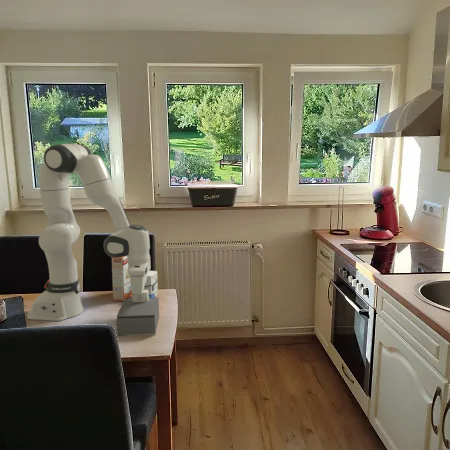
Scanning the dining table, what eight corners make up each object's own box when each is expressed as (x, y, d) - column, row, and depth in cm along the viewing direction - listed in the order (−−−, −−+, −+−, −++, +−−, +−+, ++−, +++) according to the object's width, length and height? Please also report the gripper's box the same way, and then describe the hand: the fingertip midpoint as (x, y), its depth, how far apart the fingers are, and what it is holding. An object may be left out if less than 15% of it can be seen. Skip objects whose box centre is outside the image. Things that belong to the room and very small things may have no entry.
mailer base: (117, 336, 155) (116, 318, 154) (125, 316, 173) (124, 301, 171) (155, 334, 156) (154, 317, 155) (159, 315, 174) (158, 300, 172)
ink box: (151, 300, 191) (151, 276, 189) (141, 299, 192) (140, 275, 190) (158, 294, 199) (157, 270, 197) (148, 293, 200) (147, 270, 198)
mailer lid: (116, 317, 154) (116, 305, 153) (124, 299, 172) (124, 289, 171) (154, 316, 155) (154, 304, 154) (158, 298, 173) (158, 288, 172)
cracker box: (125, 301, 190) (123, 257, 186) (112, 300, 191) (110, 257, 187) (136, 291, 203) (135, 250, 199) (125, 290, 204) (123, 249, 200)
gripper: (135, 258, 176) (136, 289, 179) (127, 272, 156) (129, 307, 159) (149, 258, 177) (151, 289, 179) (144, 272, 157) (145, 307, 159)
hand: (140, 297), depth 169 cm, fingers closed on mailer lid, 3 cm apart
